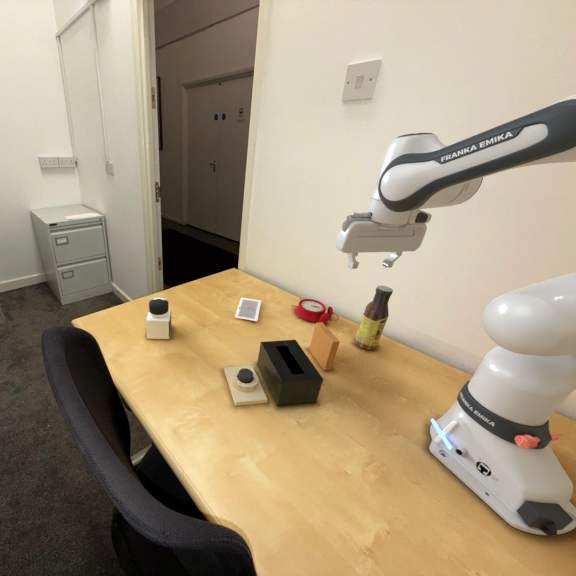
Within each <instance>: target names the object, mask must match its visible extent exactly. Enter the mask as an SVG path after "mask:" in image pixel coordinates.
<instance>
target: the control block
mask: <svg viewBox="0 0 576 576" xmlns="http://www.w3.org/2000/svg"><path fill="white" fill-rule="evenodd" d="M243 368H246V369H249V370H251V371H252V372H253V379H252V382H250V383H247V384H246V383H242V382H241V381H240V380H239V379H238V375H239V371H240V370H241V369H243ZM223 372H224V375H225V378H226V381H227V384H228V387H229V390H230V393H231V397H232V400H233V403H234V406H246V405H247V406H248V405H256V404H257V405H258V404H267V403H268V397H267V395H266V393H265V391H264V388H263V385H262V383H261V381H260V379H259V378H260V377H258V374H257V373H256V370H255V368H254V366H253V365H240V366H228V367H224V369H223Z"/></svg>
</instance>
